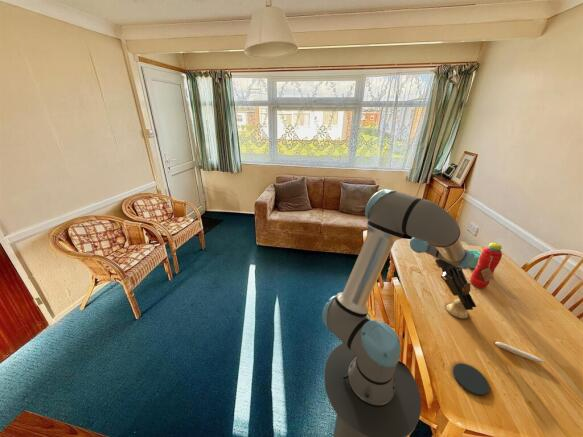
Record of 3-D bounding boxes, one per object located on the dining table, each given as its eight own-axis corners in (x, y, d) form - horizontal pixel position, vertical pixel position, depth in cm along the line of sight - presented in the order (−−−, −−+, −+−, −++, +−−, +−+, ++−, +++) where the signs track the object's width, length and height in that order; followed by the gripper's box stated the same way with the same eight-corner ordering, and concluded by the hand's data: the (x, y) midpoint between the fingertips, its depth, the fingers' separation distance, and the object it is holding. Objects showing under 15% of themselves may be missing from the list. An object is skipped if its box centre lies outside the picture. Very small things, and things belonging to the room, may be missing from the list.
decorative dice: (474, 261, 138) (479, 250, 134) (482, 269, 131) (488, 258, 127) (460, 260, 139) (464, 249, 135) (467, 268, 132) (472, 256, 128)
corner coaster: (472, 399, 72) (473, 398, 72) (445, 368, 81) (446, 367, 81) (496, 390, 75) (496, 389, 74) (467, 361, 83) (468, 360, 83)
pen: (544, 366, 82) (546, 363, 81) (494, 345, 89) (496, 342, 88) (543, 362, 83) (545, 359, 82) (494, 342, 90) (495, 339, 89)
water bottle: (487, 296, 112) (508, 254, 101) (467, 289, 117) (485, 248, 106) (487, 283, 121) (506, 243, 110) (469, 277, 125) (485, 238, 114)
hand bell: (443, 310, 104) (454, 283, 98) (450, 301, 109) (461, 275, 102) (464, 321, 99) (478, 294, 92) (470, 312, 103) (483, 285, 97)
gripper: (441, 260, 97) (471, 315, 92) (459, 250, 104) (488, 300, 99) (426, 263, 104) (453, 315, 98) (444, 254, 111) (470, 301, 105)
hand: (471, 308), depth 98 cm, fingers closed on hand bell, 2 cm apart
